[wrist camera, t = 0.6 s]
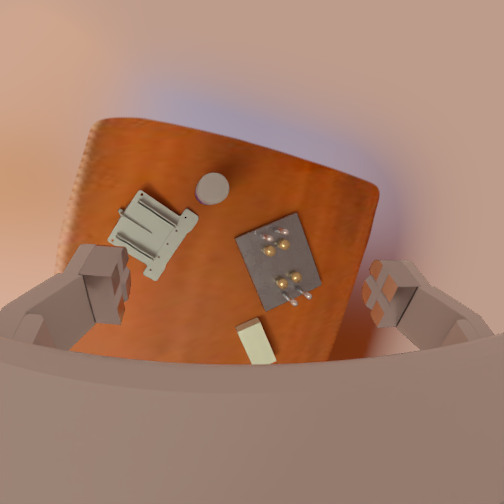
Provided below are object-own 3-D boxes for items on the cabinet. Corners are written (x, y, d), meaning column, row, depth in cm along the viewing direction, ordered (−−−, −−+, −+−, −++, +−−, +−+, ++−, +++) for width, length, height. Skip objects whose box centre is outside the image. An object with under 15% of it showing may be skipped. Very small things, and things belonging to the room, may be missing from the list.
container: (202, 209, 57) (206, 210, 42) (190, 187, 56) (191, 181, 41) (223, 197, 57) (235, 194, 43) (212, 176, 56) (220, 165, 42)
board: (272, 354, 65) (276, 360, 62) (252, 363, 64) (254, 370, 61) (256, 316, 63) (260, 322, 60) (234, 326, 62) (237, 332, 59)
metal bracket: (97, 250, 49) (143, 178, 49) (98, 241, 54) (140, 175, 54) (161, 287, 56) (206, 222, 56) (157, 276, 61) (198, 216, 61)
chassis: (319, 282, 64) (334, 292, 57) (264, 309, 62) (273, 322, 55) (294, 212, 61) (308, 213, 53) (234, 237, 59) (240, 242, 52)
